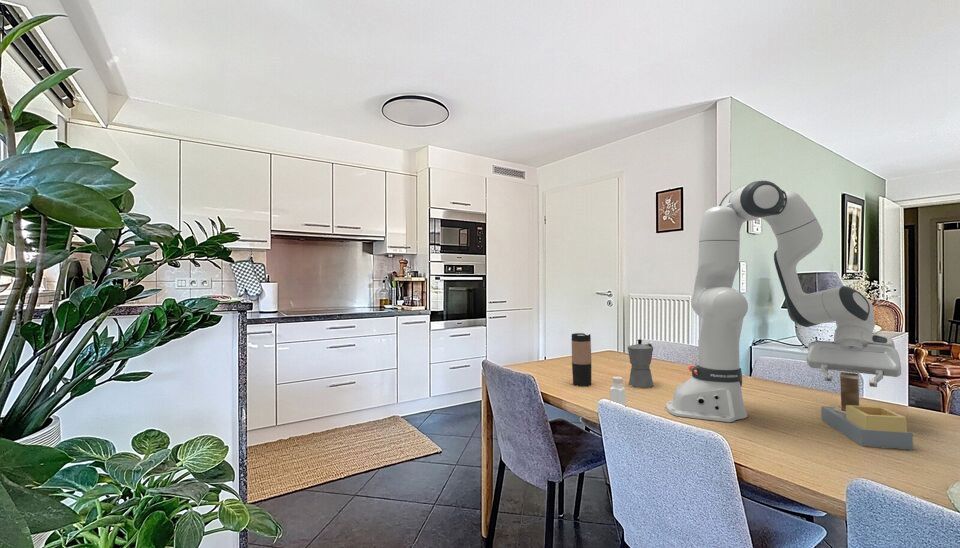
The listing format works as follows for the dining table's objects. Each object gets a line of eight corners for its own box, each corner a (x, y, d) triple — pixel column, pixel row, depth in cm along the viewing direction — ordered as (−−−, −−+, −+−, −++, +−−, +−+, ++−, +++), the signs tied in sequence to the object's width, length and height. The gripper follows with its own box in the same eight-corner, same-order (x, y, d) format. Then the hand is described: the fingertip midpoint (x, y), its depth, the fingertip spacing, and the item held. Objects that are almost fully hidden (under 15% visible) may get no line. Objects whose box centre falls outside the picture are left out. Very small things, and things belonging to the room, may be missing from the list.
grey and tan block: (861, 446, 104) (860, 415, 104) (821, 420, 123) (820, 393, 123) (912, 449, 101) (911, 418, 101) (863, 422, 120) (862, 395, 120)
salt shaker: (614, 404, 142) (613, 375, 143) (626, 406, 140) (625, 377, 140) (609, 407, 139) (609, 377, 139) (621, 409, 137) (621, 379, 137)
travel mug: (572, 386, 167) (571, 335, 167) (571, 381, 174) (570, 333, 175) (592, 386, 166) (591, 335, 166) (591, 382, 173) (589, 333, 174)
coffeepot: (642, 390, 159) (641, 342, 159) (620, 385, 166) (619, 339, 167) (664, 383, 168) (662, 338, 169) (642, 379, 176) (641, 336, 176)
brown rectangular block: (841, 410, 117) (839, 374, 117) (842, 407, 120) (841, 372, 120) (858, 413, 115) (857, 376, 115) (859, 410, 117) (858, 374, 117)
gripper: (807, 333, 130) (801, 370, 123) (900, 339, 115) (900, 381, 109) (810, 346, 133) (805, 383, 126) (902, 353, 118) (901, 396, 112)
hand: (849, 382), depth 117 cm, fingers open, 8 cm apart
